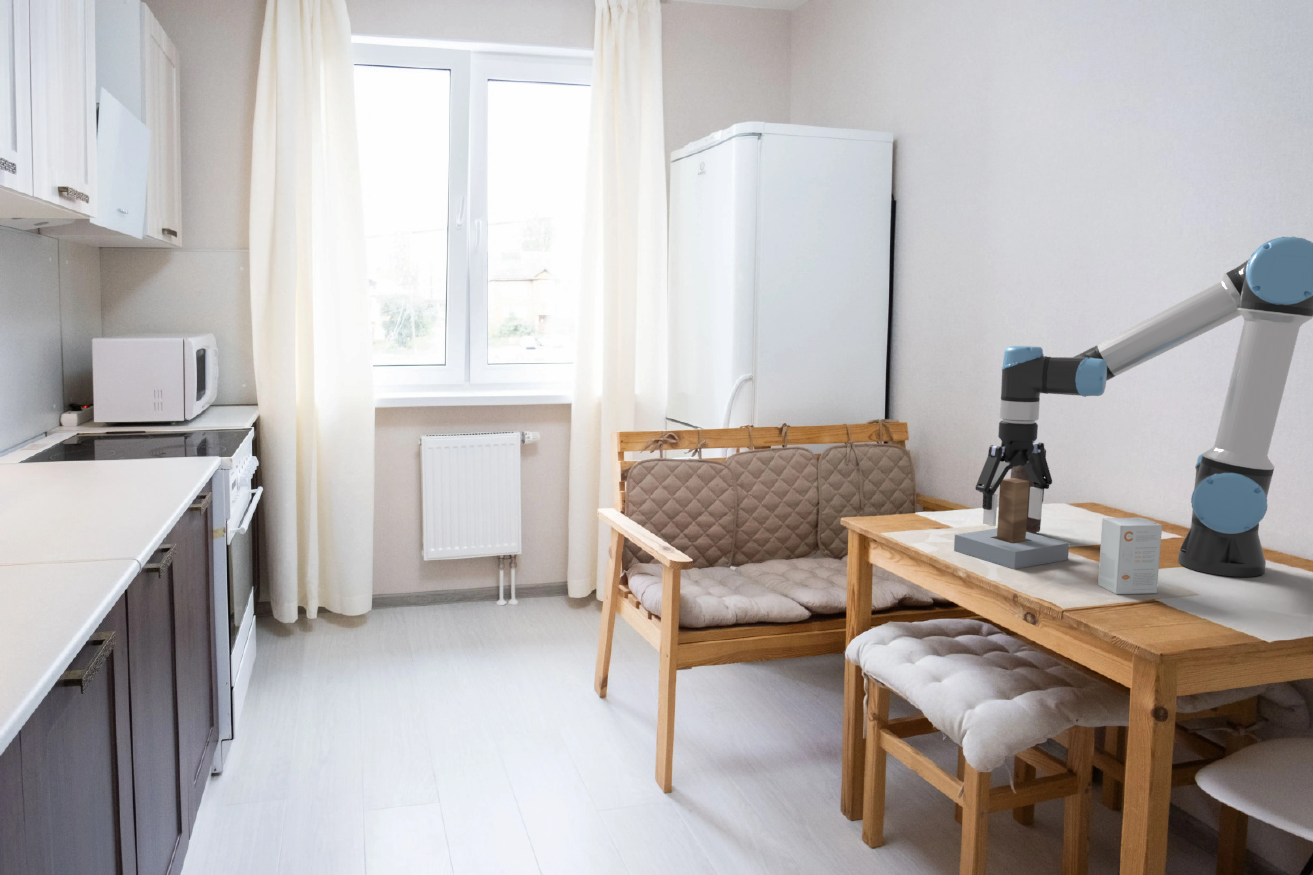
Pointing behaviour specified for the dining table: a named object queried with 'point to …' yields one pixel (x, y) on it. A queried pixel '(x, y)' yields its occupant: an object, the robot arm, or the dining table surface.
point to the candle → (1020, 473)
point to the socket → (1011, 549)
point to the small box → (1129, 555)
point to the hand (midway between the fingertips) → (1012, 521)
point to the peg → (1013, 510)
